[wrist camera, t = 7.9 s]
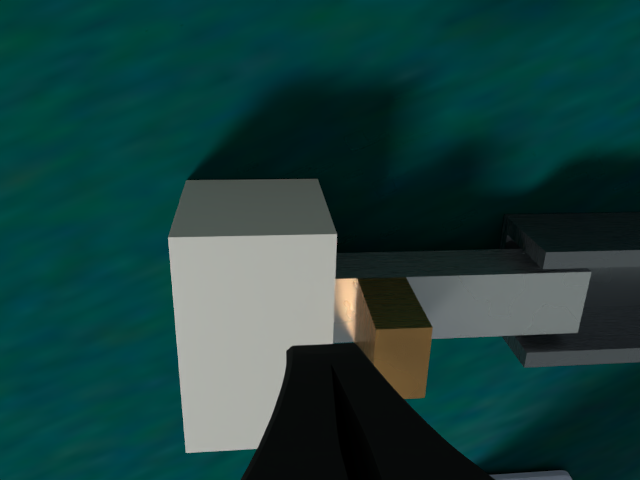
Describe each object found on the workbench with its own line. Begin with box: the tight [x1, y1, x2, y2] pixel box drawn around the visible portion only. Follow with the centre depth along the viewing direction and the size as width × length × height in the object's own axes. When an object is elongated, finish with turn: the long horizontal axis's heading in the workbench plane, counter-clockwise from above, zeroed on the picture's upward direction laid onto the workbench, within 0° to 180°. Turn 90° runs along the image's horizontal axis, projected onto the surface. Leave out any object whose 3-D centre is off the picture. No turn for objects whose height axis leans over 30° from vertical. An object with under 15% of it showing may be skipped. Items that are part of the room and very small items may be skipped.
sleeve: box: [499, 212, 640, 367], centre depth 22 cm, size 4×10×3 cm, turn 88°
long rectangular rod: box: [333, 249, 591, 399], centre depth 19 cm, size 2×12×5 cm, turn 88°
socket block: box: [168, 179, 337, 453], centre depth 20 cm, size 7×4×5 cm, turn 179°
